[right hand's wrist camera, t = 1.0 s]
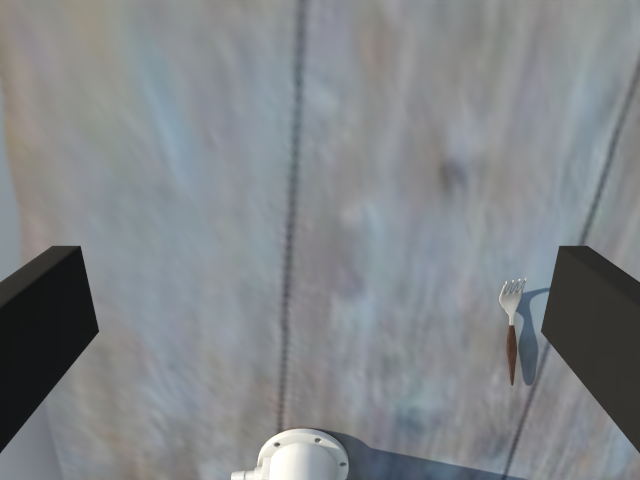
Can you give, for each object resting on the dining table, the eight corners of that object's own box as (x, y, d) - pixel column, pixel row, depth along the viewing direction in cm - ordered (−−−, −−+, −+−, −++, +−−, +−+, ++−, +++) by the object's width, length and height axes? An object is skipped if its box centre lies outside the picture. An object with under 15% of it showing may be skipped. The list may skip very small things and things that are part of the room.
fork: (500, 383, 57) (506, 394, 56) (498, 273, 52) (505, 281, 50) (520, 381, 57) (527, 392, 55) (521, 270, 51) (528, 278, 50)
